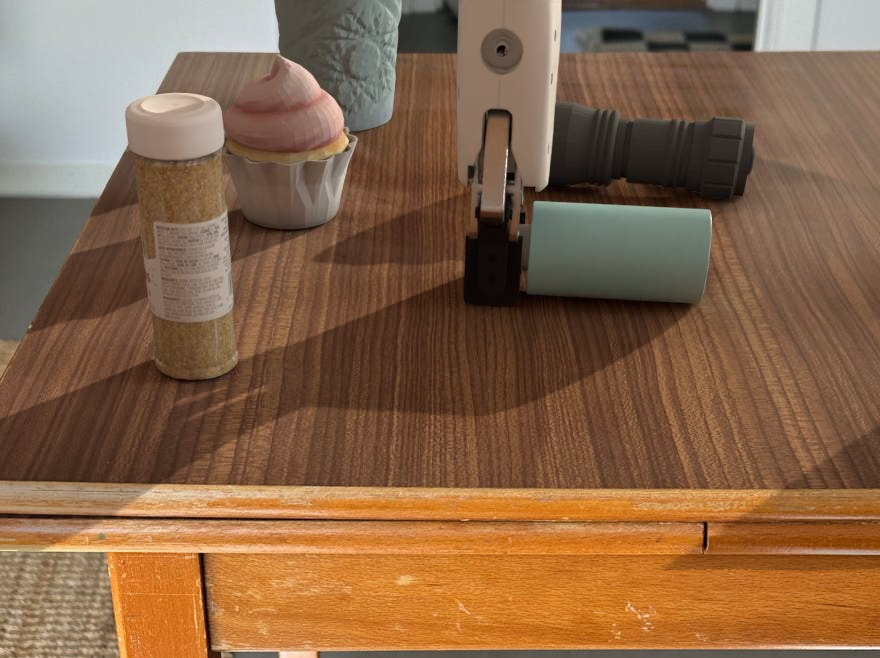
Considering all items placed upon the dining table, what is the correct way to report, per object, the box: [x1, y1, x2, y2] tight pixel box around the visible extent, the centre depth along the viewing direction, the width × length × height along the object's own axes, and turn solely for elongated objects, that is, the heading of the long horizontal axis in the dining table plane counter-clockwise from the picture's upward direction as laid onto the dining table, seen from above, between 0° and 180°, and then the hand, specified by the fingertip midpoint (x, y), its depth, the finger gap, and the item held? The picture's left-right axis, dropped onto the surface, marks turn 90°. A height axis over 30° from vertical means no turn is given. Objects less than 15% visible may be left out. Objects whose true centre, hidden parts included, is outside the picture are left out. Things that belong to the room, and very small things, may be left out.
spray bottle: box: [509, 200, 713, 305], centre depth 76 cm, size 14×5×5 cm, turn 83°
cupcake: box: [222, 54, 359, 230], centre depth 85 cm, size 9×9×10 cm
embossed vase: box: [273, 0, 403, 133], centre depth 101 cm, size 10×10×12 cm
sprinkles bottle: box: [124, 92, 240, 381], centre depth 66 cm, size 5×5×14 cm
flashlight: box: [547, 100, 756, 201], centre depth 90 cm, size 15×5×5 cm, turn 78°
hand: (493, 285), depth 78 cm, fingers open, 3 cm apart
